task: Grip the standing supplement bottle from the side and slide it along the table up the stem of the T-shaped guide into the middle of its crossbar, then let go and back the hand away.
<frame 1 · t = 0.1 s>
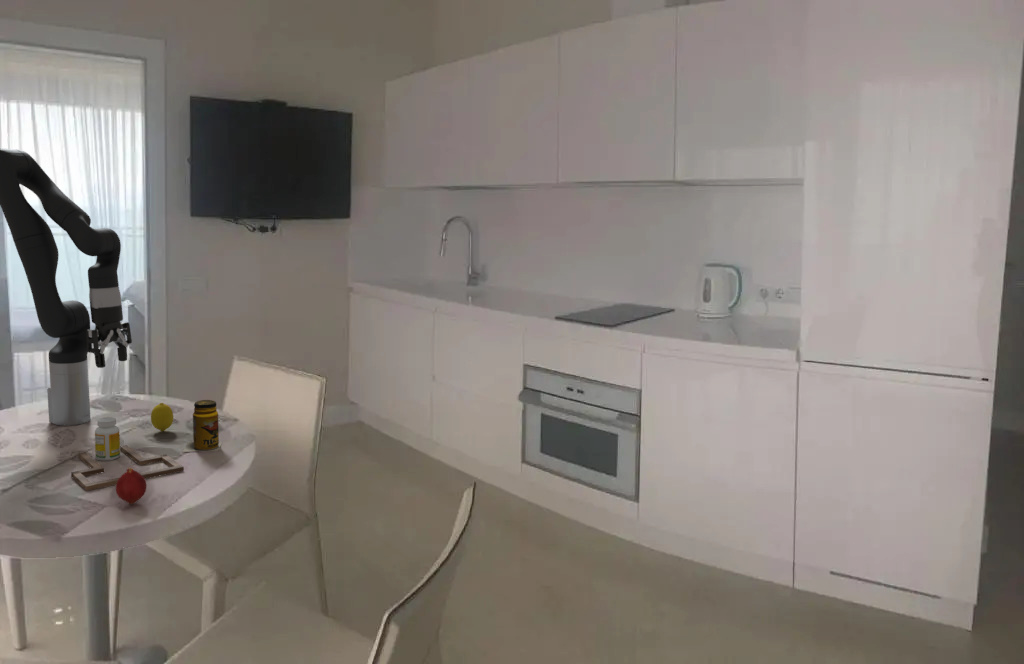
hand: (112, 364, 218), 17 cm above the table, tool pointing down, fingers open, 8 cm apart
onion: (132, 504, 170), on the table
supplement bottle: (108, 458, 196), on the table
condiment: (202, 448, 207), on the table
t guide: (128, 473, 186), on the table
lemon: (162, 432, 218), on the table
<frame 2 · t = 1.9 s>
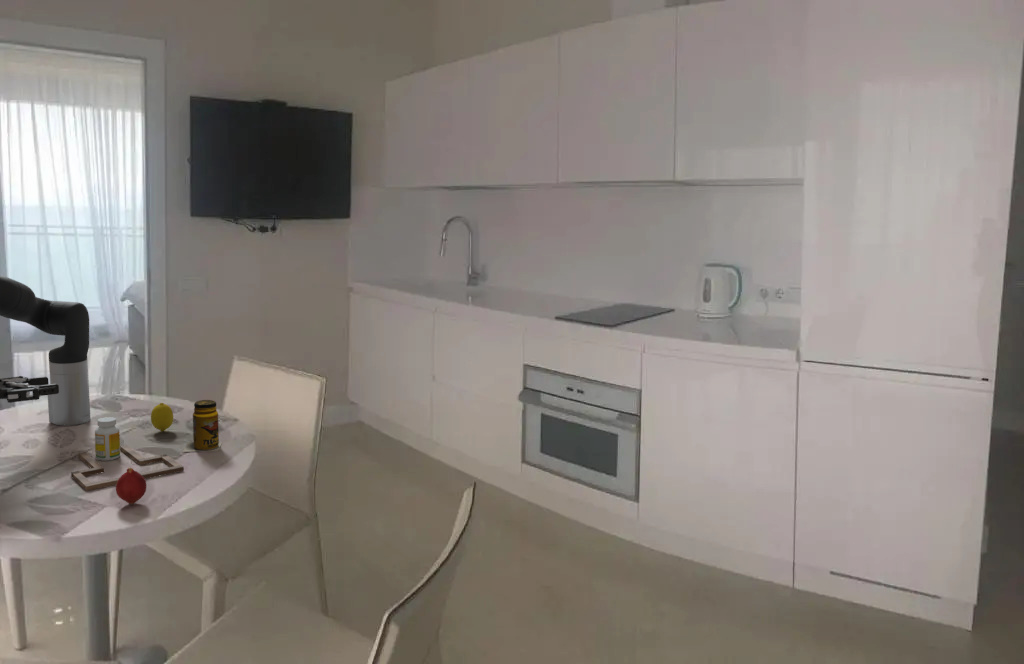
hand: (53, 384, 185), 20 cm above the table, tool horizontal, fingers open, 8 cm apart
nothing on the table moved.
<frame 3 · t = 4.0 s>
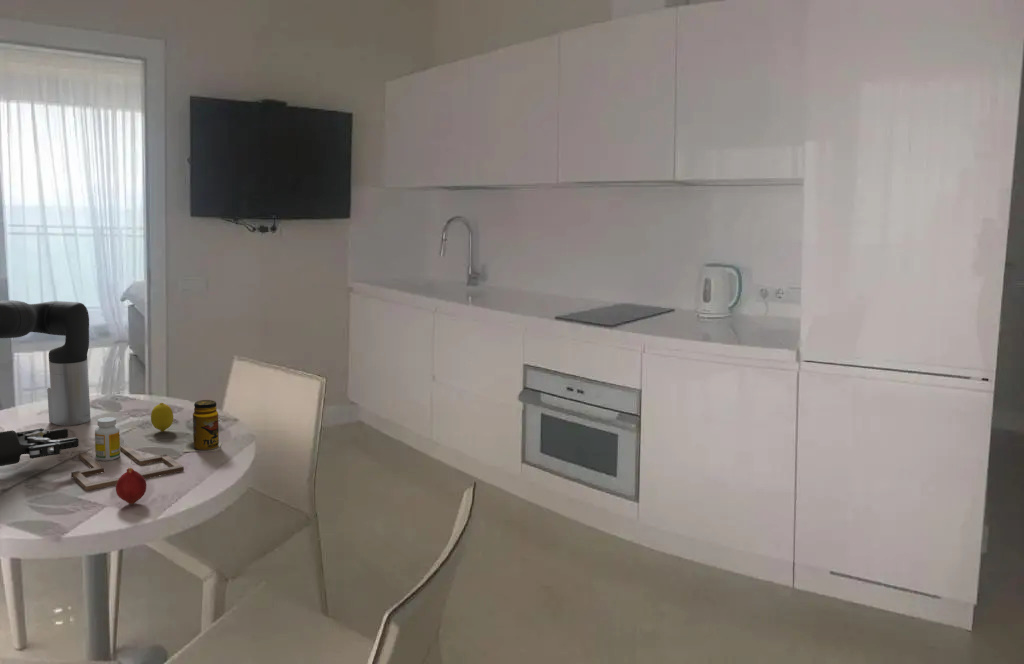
hand: (72, 437, 190), 6 cm above the table, tool horizontal, fingers open, 8 cm apart
nothing on the table moved.
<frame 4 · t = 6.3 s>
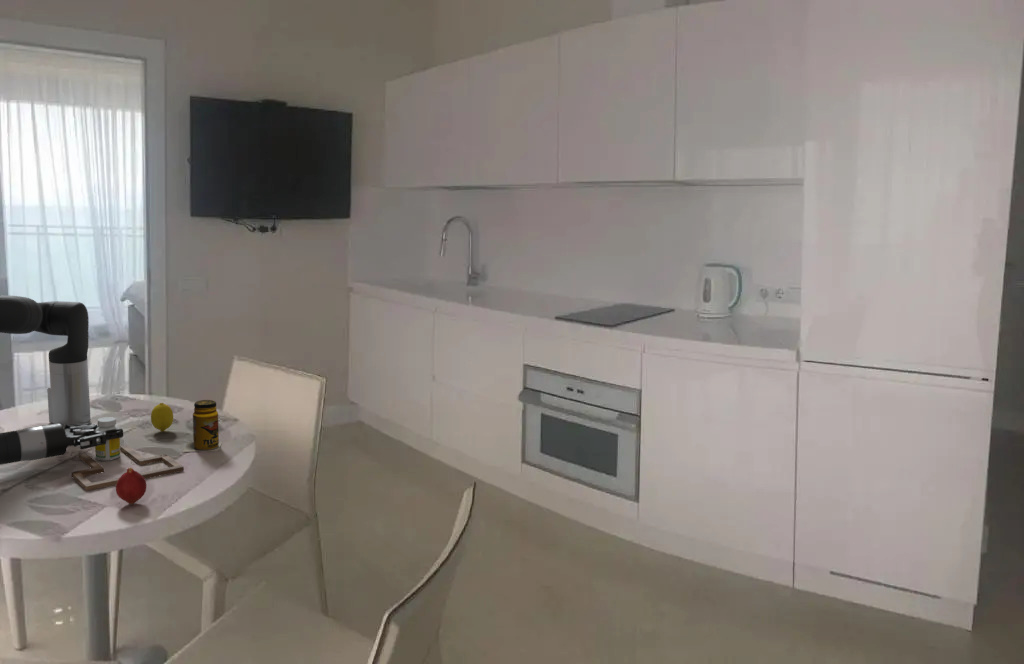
hand: (118, 429, 197), 7 cm above the table, tool horizontal, fingers closed on supplement bottle, 5 cm apart
supplement bottle: (108, 458, 196), on the table, touching gripper
everything else where it was.
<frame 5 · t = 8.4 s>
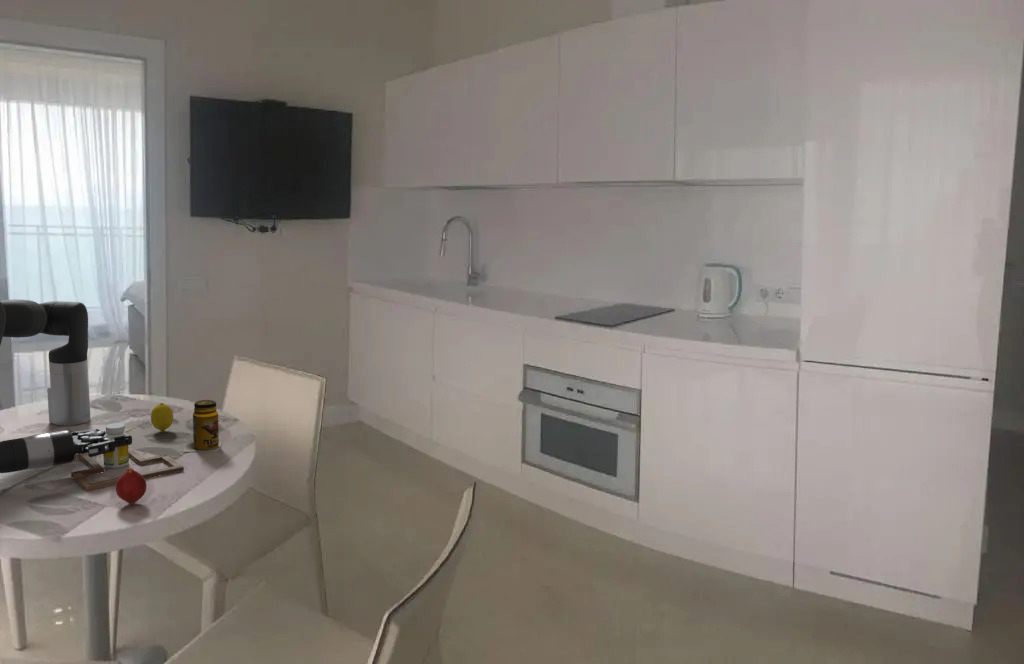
hand: (126, 436, 192), 7 cm above the table, tool horizontal, fingers closed on supplement bottle, 5 cm apart
supplement bottle: (116, 465, 192), on the table, touching gripper
everything else where it was.
when the fingers open (7 cm above the table, at t = 10.6 s): supplement bottle stays where it is, on the table.
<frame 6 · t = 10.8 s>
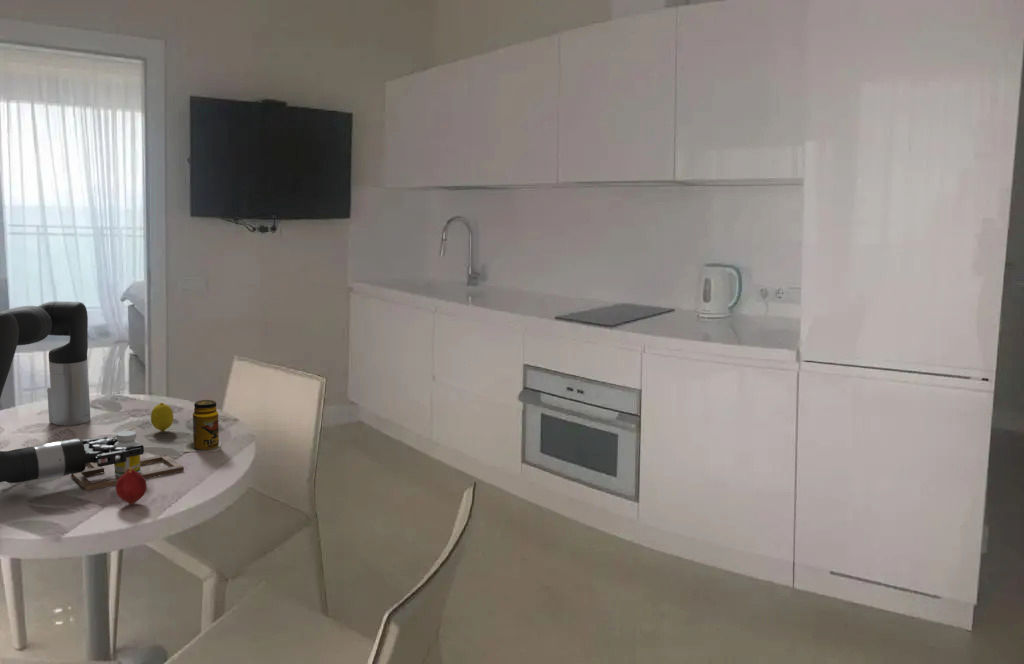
hand: (137, 444, 187), 7 cm above the table, tool horizontal, fingers open, 7 cm apart
supplement bottle: (127, 474, 187), on the table
everything else where it was.
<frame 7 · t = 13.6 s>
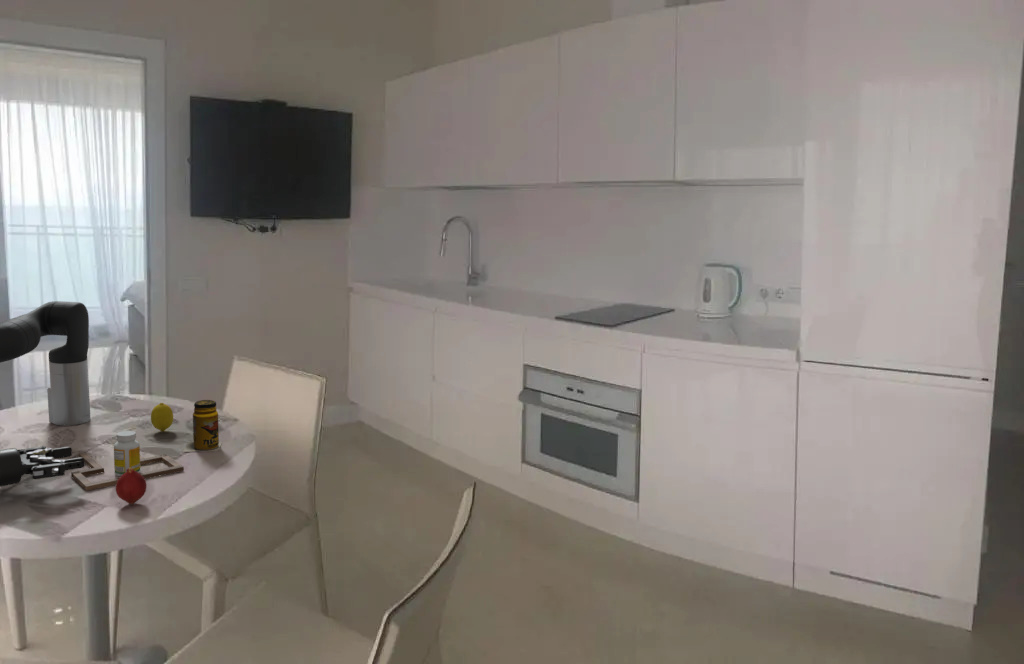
hand: (77, 456, 178), 6 cm above the table, tool horizontal, fingers open, 8 cm apart
nothing on the table moved.
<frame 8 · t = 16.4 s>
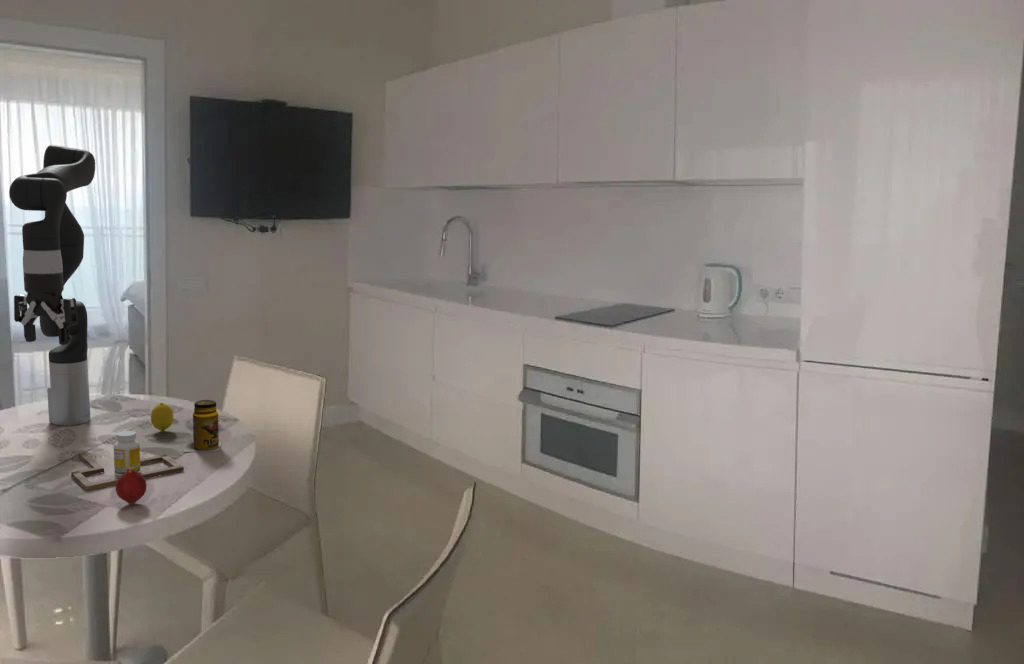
hand: (47, 342, 180), 30 cm above the table, tool pointing down, fingers open, 8 cm apart
nothing on the table moved.
at the end: supplement bottle 0.4 cm off-centre on the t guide, point 0.0 cm above the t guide's base; supplement bottle tilted 0°; the gripper is holding nothing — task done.
